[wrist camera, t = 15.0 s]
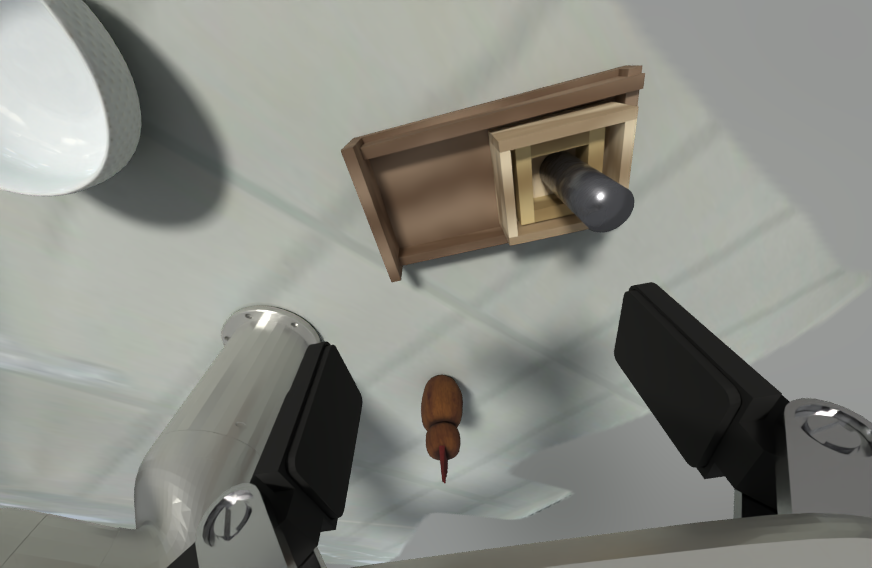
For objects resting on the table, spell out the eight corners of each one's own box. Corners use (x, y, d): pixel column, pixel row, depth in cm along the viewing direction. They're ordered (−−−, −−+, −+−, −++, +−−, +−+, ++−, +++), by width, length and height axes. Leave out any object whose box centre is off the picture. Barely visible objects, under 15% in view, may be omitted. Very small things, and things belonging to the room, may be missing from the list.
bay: (611, 210, 33) (637, 230, 29) (395, 257, 36) (391, 282, 32) (625, 65, 26) (662, 65, 22) (353, 138, 29) (340, 150, 24)
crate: (598, 201, 31) (624, 221, 27) (499, 223, 32) (509, 245, 28) (605, 100, 26) (638, 106, 22) (487, 130, 27) (498, 141, 23)
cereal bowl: (180, 8, 23) (99, -12, 17) (173, 201, 32) (116, 231, 26) (-138, -165, 19) (-395, -271, 13) (-49, 116, 27) (-179, 129, 21)
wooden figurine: (427, 366, 47) (427, 473, 35) (464, 371, 48) (476, 477, 35) (418, 393, 51) (415, 498, 38) (452, 397, 51) (460, 502, 39)
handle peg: (574, 181, 29) (631, 226, 21) (540, 189, 30) (582, 236, 22) (575, 146, 28) (637, 180, 19) (538, 155, 28) (584, 192, 20)
